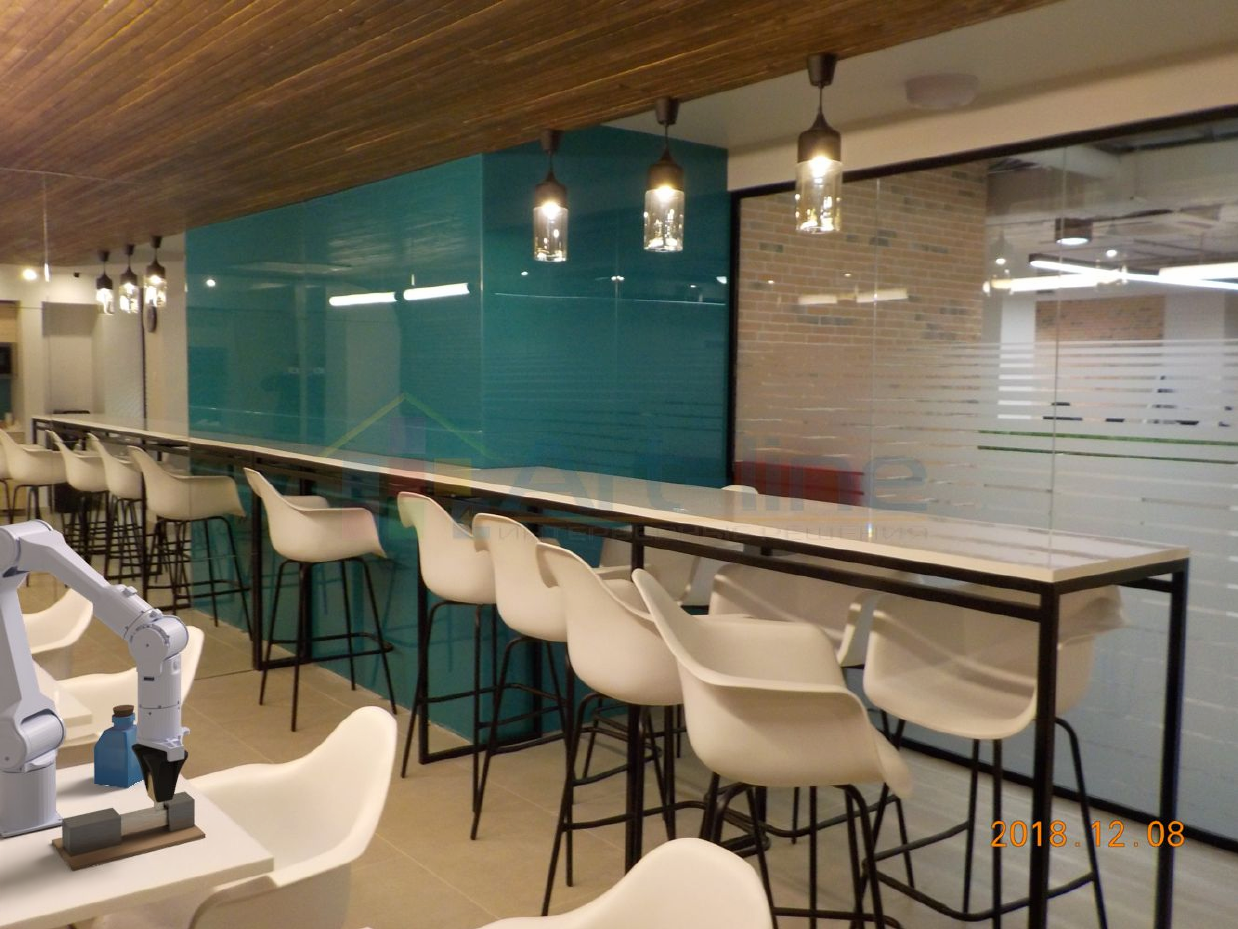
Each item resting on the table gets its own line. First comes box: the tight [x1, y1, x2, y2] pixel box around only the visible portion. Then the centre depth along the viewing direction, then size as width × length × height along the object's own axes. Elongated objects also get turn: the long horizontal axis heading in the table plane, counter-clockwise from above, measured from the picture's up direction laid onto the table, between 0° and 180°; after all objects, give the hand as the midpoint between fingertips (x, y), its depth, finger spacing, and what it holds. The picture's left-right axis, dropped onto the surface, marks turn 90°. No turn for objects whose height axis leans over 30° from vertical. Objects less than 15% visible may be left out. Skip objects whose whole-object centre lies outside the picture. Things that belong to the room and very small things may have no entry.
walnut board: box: [51, 824, 206, 872], centre depth 148 cm, size 11×17×1 cm, turn 131°
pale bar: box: [119, 772, 169, 836], centre depth 149 cm, size 4×10×7 cm, turn 131°
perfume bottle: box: [93, 704, 144, 789], centre depth 171 cm, size 6×6×12 cm
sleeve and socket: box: [61, 791, 196, 857], centre depth 148 cm, size 4×16×4 cm, turn 131°
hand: (159, 796), depth 150 cm, fingers closed on pale bar, 3 cm apart
